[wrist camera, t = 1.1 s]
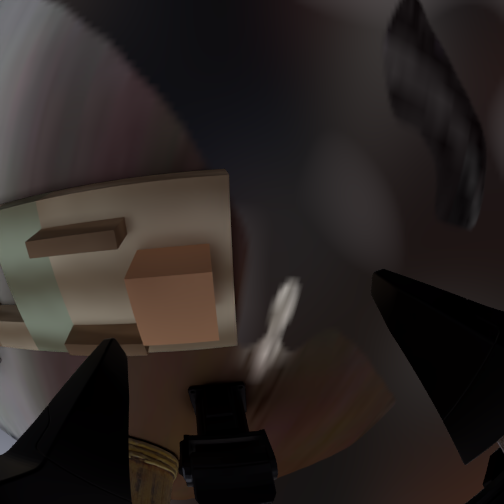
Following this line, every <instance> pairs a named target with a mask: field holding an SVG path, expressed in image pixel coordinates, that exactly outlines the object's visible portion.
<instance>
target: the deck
mask: <svg viewBox="0 0 504 504" xmlns="http://www.w3.org/2000/svg"><path fill="white" fill-rule="evenodd" d="M197 244H209V245H210V255H211V265H212V275H213V285H214V296H215V305H216V315H217V324H218V332H219V341H209V342H197V343H184V344H169V345H150V346H144V345H143V342H142V339H141V336H140V333H139V330H138V327H137V324H136V321H135V317H134V314H133V311H132V307H131V304H130V300H129V297H128V293H127V289H126V286H125V282H124V278H125V276H126V273H127V271H128V269H129V267H130V264H131V262H132V260H133V258H134V256H135V254H136V251H137V250H142V249H153V248H164V247H175V246H186V245H197ZM0 263H1V266H2V269H3V272H4V275H5V278H6V280H7V283H8V286H9V288H10V291H11V293H12V296H13V298H14V301H15V303H16V305H1V304H0V346H2V347H11V348H19V349H29V350H41V351H56V352H69V354H70V355H82V356H89V355H90V354H91V353H92V352H93V351H94V350H95V349H96V347H97V346H98V345H99V344H100V343H101V342H102V341H103V340H104V339H107V338H115V339H116V340H117V341H118V343H119V344H120V346H121V347H122V349H123V350H124V352H125V353H126V355H127V356H146V355H148V352H168V351H184V350H197V349H208V348H219V347H228V346H237V330H236V314H235V297H234V279H233V260H232V239H231V216H230V190H229V174H228V173H227V171H226V170H225V169H215V170H201V171H189V172H178V173H168V174H159V175H150V176H142V177H135V178H127V179H120V180H114V181H107V182H101V183H95V184H90V185H84V186H79V187H73V188H68V189H63V190H59V191H54V192H49V193H45V194H40V195H36V196H32V197H28V198H24V199H20V200H16V201H12V202H9V203H5V204H1V205H0Z"/></svg>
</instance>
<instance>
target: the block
mask: <svg viewBox="0 0 504 504" xmlns="http://www.w3.org/2000/svg"><path fill="white" fill-rule="evenodd" d="M124 282H125V286H126V289H127V293H128V297H129V300H130V304H131V307H132V311H133V314H134V317H135V321H136V324H137V327H138V330H139V333H140V336H141V339H142V342H143V345H144V346H150V345H169V344H184V343H197V342H209V341H219V332H218V324H217V315H216V305H215V296H214V285H213V275H212V265H211V255H210V245H209V244H197V245H186V246H175V247H164V248H153V249H142V250H137V251H136V254H135V256H134V258H133V260H132V262H131V264H130V267H129V269H128V271H127V273H126V276H125V278H124Z"/></svg>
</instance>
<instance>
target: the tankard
mask: <svg viewBox="0 0 504 504" xmlns="http://www.w3.org/2000/svg"><path fill="white" fill-rule="evenodd" d="M178 466H179V463H178V460H177V459H176V458H175V456H174V455H172V454H171V453H169V452H167V451H165V450H163V449H161V448H159V447H157V446H154V445H151V444H149V443H146V442H143V441H140V440H136V439H132V438H129V470H130V486H131V497H132V501H131V502H132V504H170V500H171V492H172V485H173V482H174V480H175V479H176V476H177V473H178Z"/></svg>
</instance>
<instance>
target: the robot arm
mask: <svg viewBox="0 0 504 504" xmlns="http://www.w3.org/2000/svg"><path fill="white" fill-rule="evenodd" d="M371 295H372V297H373V299H374V301H375V303H376V305H377V307H378V309H379V311H380V313H381V315H382V317H383V319H384V321H385V323H386V325H387V327H388V329H389V331H390V332H391V334H392V335H393V337H394V338H395V340H396V342H397V343H398V345H399V346H400V348H401V350H402V351H403V353H404V354H405V356H406V357H407V359H408V361H409V362H410V364H411V366H412V367H413V369H414V371H415V372H416V374H417V376H418V378H419V379H420V381H421V383H422V384H423V386H424V388H425V390H426V391H427V393H428V395H429V397H430V398H431V400H432V402H433V404H434V405H435V407H436V409H437V411H438V413H439V414H440V417H441V418H442V420H443V423H444V424H445V426H446V428H447V430H448V432H449V434H450V436H451V438H452V440H453V442H454V444H455V446H456V448H457V450H458V452H459V454H460V456H461V459H462V461H463V463H464V464H465V465H466V464H468V463H469V462H471V461H472V460H473V459H475V458H476V457H478V456H479V455H480V454H482V453H483V452H484V451H486V450H487V449H488V448H489V447H490V446H492V445H493V444H494V443H496V442H498V444H499V446H500V447H499V448H498V449H497V450H496V451H495V452H494V453H493V454H492V455H491V456H490V459H489V463H488V467H487V471H486V475H485V479H484V482H483V486H484V489H483V490H481V491H480V492H479V493H478V494H477V495H475V496H474V497H473V498H472V499H470V500H469V501H468V502H467V503H465V504H504V311H501V310H497V309H494V308H491V307H488V306H485V305H482V304H480V303H477V302H474V301H471V300H469V299H468V300H467V299H466V298H463V297H460V296H458V295H455V294H452V293H450V292H447V291H444V290H442V289H439V288H436V287H434V286H431V285H428V284H425V283H423V282H420V281H417V280H414V279H411V278H408V277H406V276H403V275H400V274H397V273H394V272H391V271H388V270H386V269H381V270H378V271H375V272H374V273H373V275H372V285H371ZM188 393H189V396H190V399H191V402H192V405H193V408H194V412H195V415H196V421H197V434H198V435H184V440H183V441H181V442H180V460H179V468H178V470H179V474H181V475H182V476H183V477H184V479H185V481H186V483H187V486H188V487H194V494H195V499H196V501H197V502H198V503H199V504H271V503H272V502H273V501H274V498H275V495H276V489H275V484H274V479H277V476H278V470H277V463H276V458H275V455H274V452H273V450H272V447H271V445H270V442H269V440H268V437H267V435H266V432H265V430H264V429H262V430H259V431H252V432H249V428H248V424H247V419H246V414H245V412H246V394H245V384H244V383H243V382H238V383H229V384H220V385H210V386H198V387H190V388H189V389H188ZM128 427H129V384H128V361H127V355H126V353H125V352H124V350H123V349H122V347H121V346H120V344H119V343H118V341H117V340H116V339H115V338H107V339H104V340H103V341H102V342H101V343H100V344H99V345H98V346H97V347H96V349H95V350H94V351H93V352H92V353H91V354H90V355H89V357H88V358H87V359H86V360H85V361H84V362H83V363H82V365H81V366H80V367H79V368H78V369H77V370H76V372H75V373H74V374H73V375H72V376H71V377H70V379H69V380H68V381H67V382H66V383H65V385H64V386H63V387H62V388H61V389H60V391H59V392H58V393H57V394H56V396H55V397H54V398H53V399H52V400H51V402H50V403H49V404H48V406H47V407H46V408H45V409H44V410H43V412H42V413H41V414H40V415H39V417H38V418H37V419H36V420H35V421H34V423H33V424H32V425H31V426H30V427H29V428H28V429H27V430H26V432H25V433H24V434H23V435H22V436H21V437H20V438H19V439H18V440H17V442H16V443H15V444H14V445H13V446H12V447H11V448H10V449H9V450H8V451H7V452H6V453H4V454H2V455H0V504H132V502H131V501H132V497H131V486H130V470H129V436H128Z"/></svg>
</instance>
